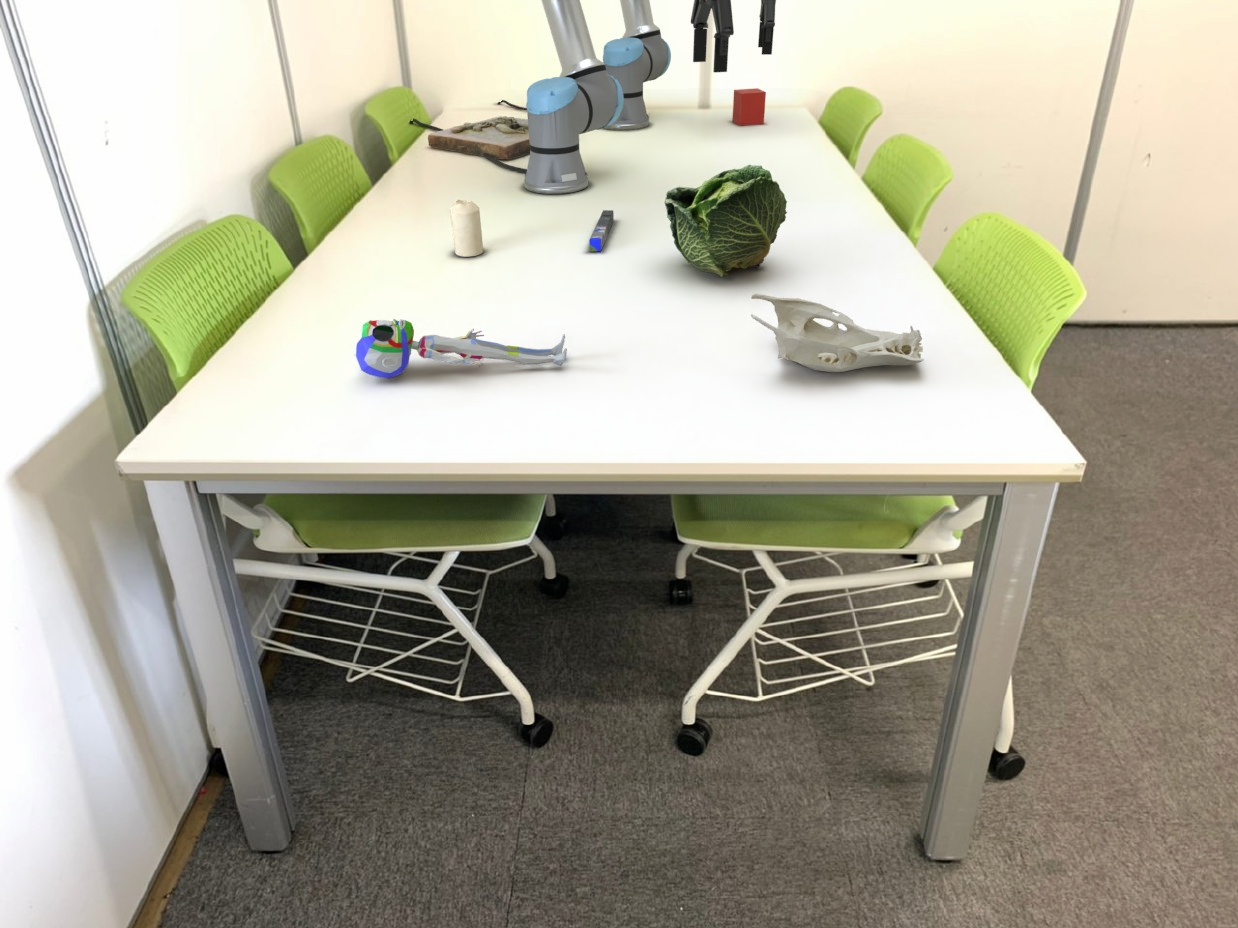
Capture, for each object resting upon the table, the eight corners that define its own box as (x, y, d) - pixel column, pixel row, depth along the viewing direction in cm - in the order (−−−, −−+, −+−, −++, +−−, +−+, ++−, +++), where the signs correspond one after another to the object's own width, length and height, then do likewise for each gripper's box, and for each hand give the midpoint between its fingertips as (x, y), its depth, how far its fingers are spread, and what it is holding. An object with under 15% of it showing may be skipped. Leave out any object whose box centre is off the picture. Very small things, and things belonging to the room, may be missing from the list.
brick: (740, 126, 269) (741, 93, 264) (732, 121, 274) (733, 90, 269) (763, 124, 270) (765, 92, 265) (755, 119, 276) (757, 88, 271)
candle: (488, 249, 176) (483, 198, 171) (475, 258, 172) (470, 206, 167) (463, 246, 178) (457, 196, 173) (450, 255, 174) (443, 204, 168)
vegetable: (694, 294, 173) (643, 202, 166) (775, 239, 175) (728, 145, 167) (734, 307, 155) (678, 205, 147) (824, 245, 156) (773, 141, 149)
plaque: (505, 133, 232) (424, 120, 247) (507, 161, 236) (427, 146, 250) (578, 114, 253) (499, 103, 268) (578, 140, 256) (500, 128, 271)
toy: (569, 347, 126) (349, 329, 122) (563, 400, 131) (350, 385, 126) (565, 318, 135) (359, 301, 130) (559, 369, 139) (360, 354, 134)
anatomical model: (752, 284, 135) (923, 286, 131) (750, 340, 140) (914, 344, 136) (749, 325, 123) (938, 328, 119) (747, 384, 127) (928, 390, 124)
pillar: (613, 210, 190) (600, 241, 173) (613, 220, 191) (600, 251, 174) (603, 210, 190) (589, 240, 173) (603, 220, 191) (589, 251, 174)
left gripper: (754, -44, 171) (747, 75, 182) (711, -51, 191) (707, 57, 202) (717, -44, 169) (712, 77, 181) (678, -51, 189) (675, 58, 201)
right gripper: (789, -32, 231) (782, 57, 242) (780, -38, 252) (774, 44, 263) (760, -32, 231) (754, 57, 243) (753, -38, 252) (748, 44, 264)
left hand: (709, 67), depth 192 cm, fingers open, 13 cm apart
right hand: (764, 51), depth 253 cm, fingers open, 13 cm apart
